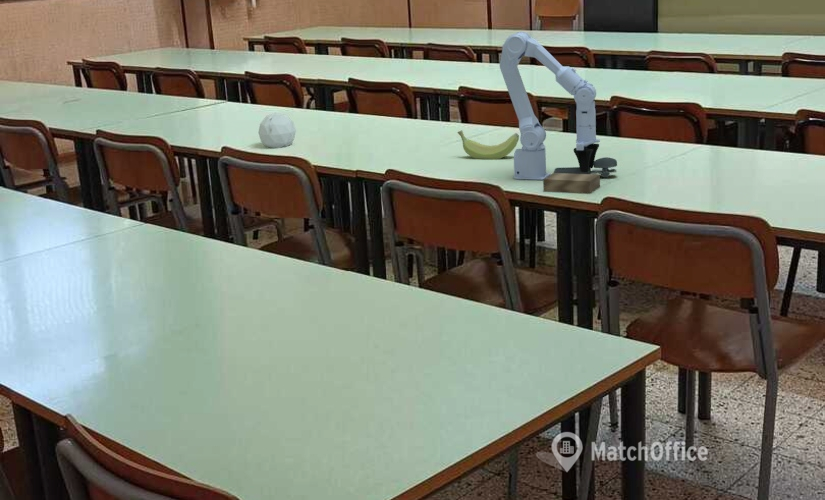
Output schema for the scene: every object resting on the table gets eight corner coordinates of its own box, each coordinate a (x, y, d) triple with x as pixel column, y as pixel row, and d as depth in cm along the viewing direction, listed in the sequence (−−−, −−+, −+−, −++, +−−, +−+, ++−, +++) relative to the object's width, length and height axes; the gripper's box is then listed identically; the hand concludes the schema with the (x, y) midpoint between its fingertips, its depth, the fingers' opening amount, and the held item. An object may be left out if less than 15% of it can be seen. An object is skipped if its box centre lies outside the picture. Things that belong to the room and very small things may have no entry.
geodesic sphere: (294, 153, 396) (291, 114, 392) (256, 155, 396) (252, 117, 393) (299, 146, 410) (296, 109, 407) (263, 148, 411) (259, 111, 407)
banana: (502, 173, 355) (449, 147, 359) (506, 169, 360) (454, 144, 364) (518, 137, 350) (464, 111, 353) (522, 133, 355) (469, 108, 358)
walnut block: (543, 192, 308) (543, 179, 307) (554, 186, 316) (554, 172, 315) (589, 195, 302) (589, 181, 301) (600, 188, 309) (599, 174, 308)
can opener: (617, 175, 323) (617, 155, 321) (617, 179, 318) (616, 158, 317) (554, 176, 327) (554, 156, 326) (553, 180, 323) (552, 159, 321)
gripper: (592, 129, 310) (593, 174, 314) (605, 121, 323) (606, 165, 327) (569, 129, 313) (570, 174, 317) (582, 121, 326) (583, 164, 329)
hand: (586, 169), depth 322 cm, fingers closed on can opener, 5 cm apart
